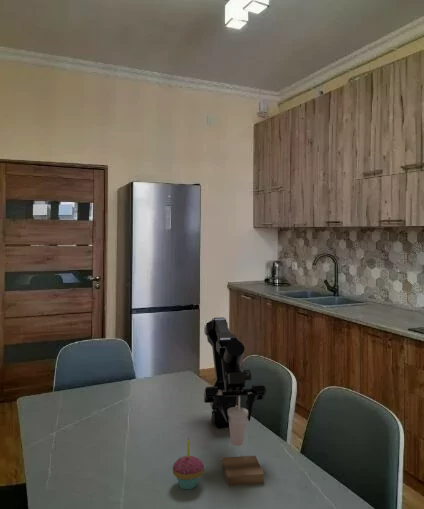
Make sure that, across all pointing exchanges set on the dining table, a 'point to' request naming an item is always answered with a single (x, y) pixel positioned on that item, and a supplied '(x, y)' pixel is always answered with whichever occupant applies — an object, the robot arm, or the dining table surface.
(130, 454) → the dining table surface
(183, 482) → the cupcake
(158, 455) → the dining table surface
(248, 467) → the plinth
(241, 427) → the smoothie
